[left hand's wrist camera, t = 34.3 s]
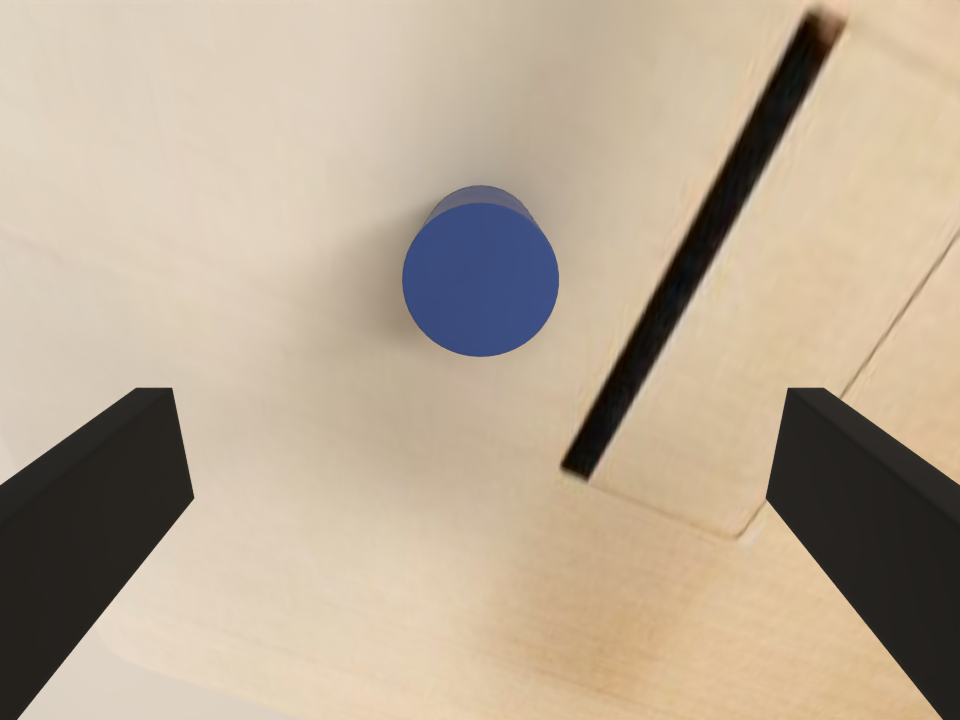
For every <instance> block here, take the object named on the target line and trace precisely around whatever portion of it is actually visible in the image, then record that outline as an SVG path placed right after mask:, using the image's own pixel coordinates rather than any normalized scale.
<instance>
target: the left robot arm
mask: <svg viewBox="0 0 960 720" xmlns="http://www.w3.org/2000/svg"><path fill="white" fill-rule="evenodd" d="M193 499H194V494H193V489H192V484H191V479H190V474H189V469H188V464H187V459H186V454H185V449H184V444H183V439H182V434H181V429H180V424H179V419H178V415H177V410H176V405H175V400H174V395H173V390H172V388H135V389H134V390H132V391H131V392H130V393H128V394H127V395H125V396H124V397H123V398H121V399H120V400H118V401H117V402H116V403H114V404H113V405H111V406H110V407H109V408H107V409H106V410H105V411H103V412H102V413H100V414H99V415H98V416H96V417H95V418H93V419H92V420H91V421H89V422H88V423H86V424H85V425H84V426H82V427H81V428H79V429H78V430H77V431H75V432H74V433H72V434H71V435H70V436H68V437H67V438H65V439H64V440H63V441H61V442H60V443H59V444H57V445H56V446H54V447H53V448H52V449H50V450H49V451H47V452H46V453H45V454H43V455H42V456H40V457H39V458H38V459H36V460H35V461H33V462H32V463H31V464H29V465H28V466H26V467H25V468H24V469H22V470H21V471H19V472H18V473H17V474H15V475H14V476H13V477H11V478H10V479H8V480H7V481H6V482H4V483H3V484H1V485H0V720H17V719H18V718H19V717H20V715H21V714H22V713H23V712H24V710H25V709H26V708H27V707H28V705H29V704H30V703H31V702H32V700H33V699H34V698H35V697H36V695H37V694H38V693H39V692H40V690H41V689H42V688H43V687H44V685H45V684H46V683H47V682H48V680H49V679H50V678H51V677H52V675H53V674H54V673H55V672H56V670H57V669H58V668H59V667H60V665H61V664H62V663H63V662H64V660H65V659H66V658H67V657H68V655H69V654H70V653H71V652H72V650H73V649H74V648H75V647H76V645H77V644H78V643H79V642H80V640H81V639H82V638H83V637H84V635H85V634H86V633H87V632H88V630H89V629H90V628H91V627H92V625H93V624H94V623H95V622H96V620H97V619H98V618H99V617H100V615H101V614H102V613H103V612H104V610H105V609H106V608H107V607H108V605H109V604H110V603H111V602H112V600H113V599H114V598H115V597H116V595H117V594H118V593H119V592H120V590H121V589H122V588H123V587H124V585H125V584H126V583H127V582H128V580H129V579H130V578H131V577H132V575H133V574H134V573H135V572H136V570H137V569H138V568H139V567H140V565H141V564H142V563H143V562H144V560H145V559H146V558H147V557H148V555H149V554H150V553H151V552H152V550H153V549H154V548H155V547H156V545H157V544H158V543H159V542H160V540H161V539H162V538H163V537H164V535H165V534H166V533H167V532H168V530H169V529H170V528H171V527H172V525H173V524H174V523H175V522H176V520H177V519H178V518H179V517H180V515H181V514H182V513H183V512H184V510H185V509H186V508H187V507H188V505H189V504H190V503H191V502H192V500H193ZM766 499H767V500H768V502H769V503H770V504H771V505H772V507H773V508H774V509H775V510H776V512H777V513H778V514H779V515H780V517H781V518H782V519H783V520H784V522H785V523H786V524H787V525H788V527H789V528H790V529H791V530H792V532H793V533H794V534H795V535H796V537H797V538H798V539H799V540H800V542H801V543H802V544H803V545H804V547H805V548H806V549H807V550H808V552H809V553H810V554H811V555H812V557H813V558H814V559H815V560H816V562H817V563H818V564H819V565H820V567H821V568H822V569H823V570H824V572H825V573H826V574H827V575H828V577H829V578H830V579H831V580H832V582H833V583H834V584H835V585H836V587H837V588H838V589H839V590H840V592H841V593H842V594H843V595H844V597H845V598H846V599H847V600H848V602H849V603H850V604H851V605H852V607H853V608H854V609H855V610H856V612H857V613H858V614H859V615H860V617H861V618H862V619H863V620H864V622H865V623H866V624H867V625H868V627H869V628H870V629H871V630H872V632H873V633H874V634H875V635H876V637H877V638H878V639H879V640H880V642H881V643H882V644H883V645H884V647H885V648H886V649H887V650H888V652H889V653H890V654H891V655H892V657H893V658H894V659H895V660H896V662H897V663H898V664H899V665H900V667H901V668H902V669H903V670H904V672H905V673H906V674H907V675H908V677H909V678H910V679H911V680H912V682H913V683H914V684H915V685H916V687H917V688H918V689H919V690H920V692H921V693H922V694H923V695H924V697H925V698H926V699H927V700H928V702H929V703H930V704H931V705H932V707H933V708H934V709H935V710H936V712H937V713H938V714H939V715H940V717H941V718H942V719H943V720H960V485H959V484H957V483H956V482H954V481H953V480H952V479H950V478H949V477H947V476H946V475H945V474H943V473H942V472H941V471H939V470H938V469H936V468H935V467H934V466H932V465H931V464H929V463H928V462H927V461H925V460H924V459H922V458H921V457H920V456H918V455H917V454H915V453H914V452H913V451H911V450H910V449H908V448H907V447H906V446H904V445H903V444H901V443H900V442H899V441H897V440H896V439H895V438H893V437H892V436H890V435H889V434H888V433H886V432H885V431H883V430H882V429H881V428H879V427H878V426H876V425H875V424H874V423H872V422H871V421H869V420H868V419H867V418H865V417H864V416H862V415H861V414H860V413H858V412H857V411H855V410H854V409H853V408H851V407H850V406H849V405H847V404H846V403H844V402H843V401H842V400H840V399H839V398H837V397H836V396H835V395H833V394H832V393H830V392H829V391H828V390H826V389H825V388H788V390H787V395H786V400H785V405H784V410H783V414H782V419H781V424H780V429H779V434H778V439H777V444H776V449H775V454H774V459H773V464H772V469H771V474H770V479H769V484H768V489H767V494H766Z"/></svg>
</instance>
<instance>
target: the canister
mask: <svg viewBox="0 0 960 720" xmlns="http://www.w3.org/2000/svg"><path fill="white" fill-rule="evenodd" d="M402 283H403V293H404V297H405V301H406V304H407V307H408V309H409V312H410V314H411V316H412V317H413V319H414V321H415V322H416V324H417V325H418V326H419V328H420V329H421V330H422V331H423V332H424V333H425V334H426V335H427V336H428V337H429V338H430V339H431V340H433V341H434V342H435V343H437V344H439V345H440V346H442V347H444V348H446V349H448V350H450V351H452V352H455V353H458V354H462V355H467V356H476V357H485V356H494V355H499V354H503V353H506V352H509V351H511V350H513V349H516V348H518V347H519V346H521V345H523V344H524V343H526V342H527V341H529V340H530V339H531V338H532V337H534V336H535V335H536V334H537V333H538V331H539V330H540V329H541V328H542V327H543V325H544V324H545V323H546V321H547V320H548V318H549V316H550V314H551V312H552V310H553V308H554V305H555V302H556V298H557V295H558V287H559V272H558V265H557V261H556V257H555V254H554V252H553V249H552V247H551V245H550V243H549V242H548V240H547V238H546V237H545V235H544V234H543V232H542V231H541V229H540V228H539V226H538V225H537V223H536V222H535V220H534V219H533V218H532V216H531V215H530V213H529V212H528V210H527V209H526V208H525V206H524V205H523V204H522V203H521V202H520V201H519V200H518V199H517V198H515V197H514V196H513V195H511V194H509V193H508V192H506V191H504V190H501V189H498V188H495V187H491V186H471V187H466V188H463V189H460V190H457V191H455V192H453V193H451V194H450V195H449V196H447V197H446V198H444V199H443V200H442V201H441V202H440V203H439V204H438V205H437V206H436V208H435V209H434V210H433V212H432V213H431V215H430V216H429V218H428V219H427V221H426V222H425V224H424V225H423V227H422V228H421V230H420V231H419V233H418V234H417V236H416V237H415V239H414V240H413V242H412V244H411V246H410V248H409V250H408V252H407V255H406V259H405V262H404V267H403V278H402Z"/></svg>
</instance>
